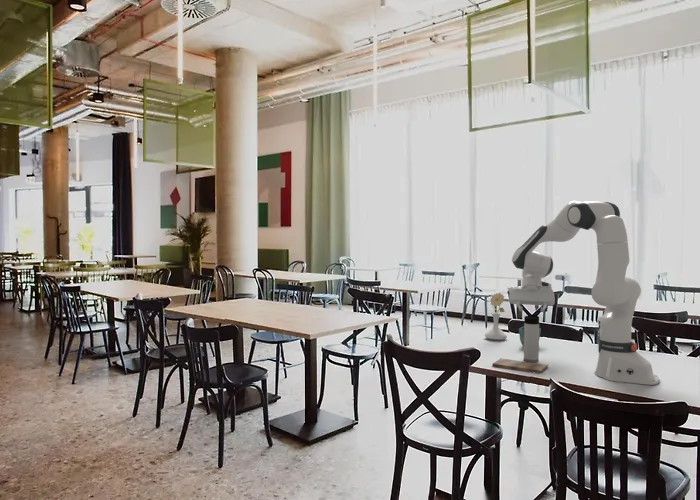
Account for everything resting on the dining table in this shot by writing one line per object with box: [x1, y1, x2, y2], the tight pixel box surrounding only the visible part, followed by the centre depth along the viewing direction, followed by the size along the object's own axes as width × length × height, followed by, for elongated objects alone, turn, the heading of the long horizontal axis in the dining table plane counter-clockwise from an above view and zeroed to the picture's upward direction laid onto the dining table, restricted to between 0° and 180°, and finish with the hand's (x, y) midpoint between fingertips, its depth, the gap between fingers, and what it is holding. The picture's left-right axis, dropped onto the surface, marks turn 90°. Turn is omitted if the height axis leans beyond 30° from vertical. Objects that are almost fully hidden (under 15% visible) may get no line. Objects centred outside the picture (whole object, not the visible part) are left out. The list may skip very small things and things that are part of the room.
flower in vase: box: [484, 292, 508, 341], centre depth 278 cm, size 13×11×25 cm
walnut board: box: [491, 357, 549, 374], centre depth 224 cm, size 20×11×1 cm, turn 57°
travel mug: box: [523, 314, 540, 363], centre depth 234 cm, size 6×7×20 cm
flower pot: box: [518, 326, 542, 347], centre depth 262 cm, size 9×9×9 cm
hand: (531, 310), depth 243 cm, fingers open, 8 cm apart
